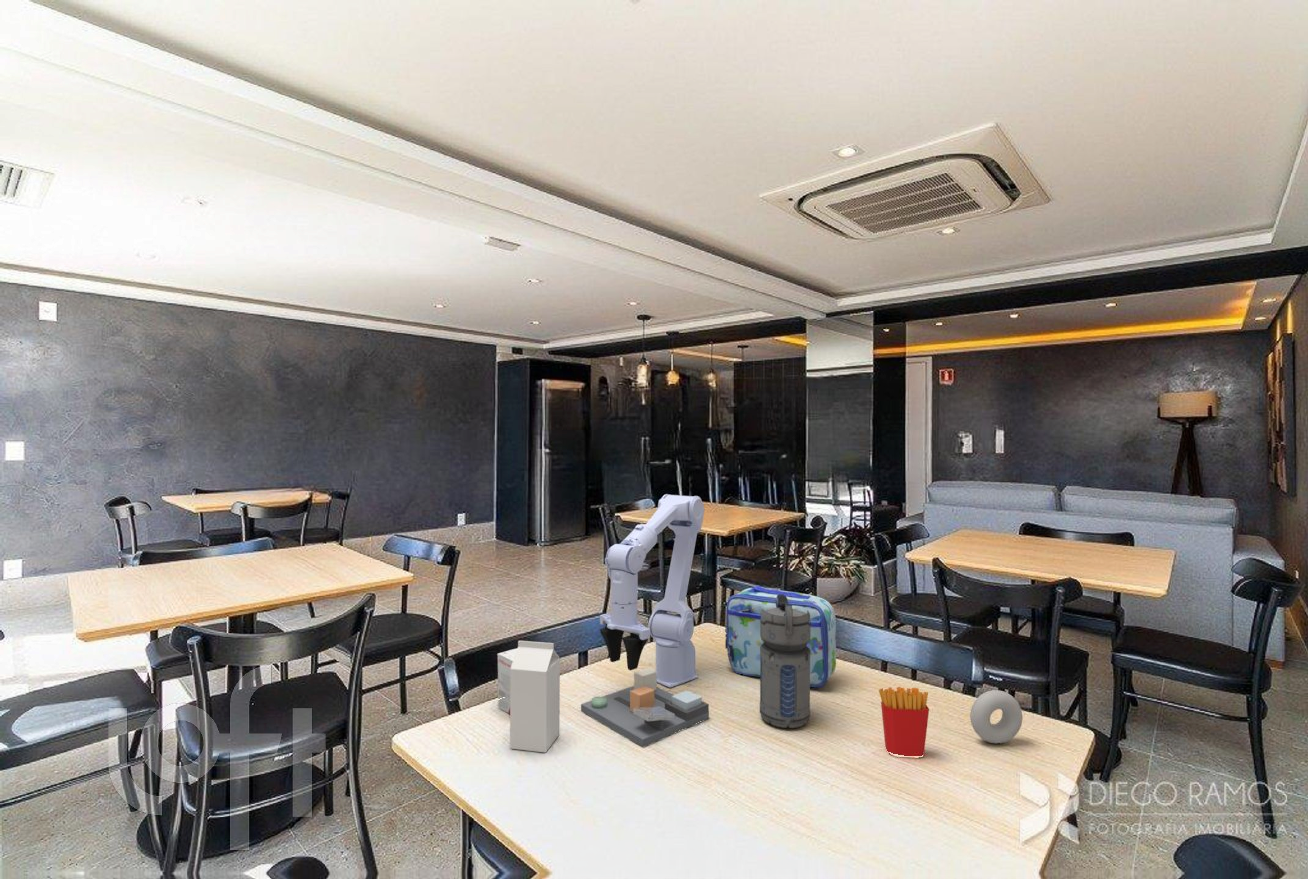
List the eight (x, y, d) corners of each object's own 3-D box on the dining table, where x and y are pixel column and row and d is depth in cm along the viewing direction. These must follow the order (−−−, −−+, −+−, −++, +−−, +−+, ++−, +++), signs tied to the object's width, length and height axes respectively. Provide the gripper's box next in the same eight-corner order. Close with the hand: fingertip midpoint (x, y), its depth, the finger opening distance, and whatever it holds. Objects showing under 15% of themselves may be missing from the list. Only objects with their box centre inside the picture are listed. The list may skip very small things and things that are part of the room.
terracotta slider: (644, 704, 128) (644, 685, 128) (654, 709, 126) (654, 690, 126) (630, 710, 125) (630, 690, 125) (639, 715, 123) (639, 695, 123)
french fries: (923, 748, 114) (924, 684, 114) (930, 759, 110) (931, 693, 110) (876, 745, 115) (877, 682, 115) (881, 756, 111) (882, 690, 111)
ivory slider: (647, 685, 138) (647, 667, 138) (656, 689, 135) (656, 671, 135) (634, 690, 135) (634, 672, 135) (642, 694, 133) (643, 676, 133)
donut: (977, 748, 114) (977, 695, 114) (965, 739, 117) (966, 687, 117) (1026, 746, 115) (1027, 693, 115) (1014, 737, 119) (1014, 685, 118)
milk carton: (546, 753, 111) (546, 649, 111) (509, 749, 113) (510, 647, 113) (559, 735, 118) (560, 637, 118) (525, 731, 120) (525, 634, 120)
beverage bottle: (803, 704, 132) (804, 589, 132) (814, 734, 119) (815, 606, 119) (756, 702, 133) (756, 588, 133) (762, 732, 120) (763, 605, 120)
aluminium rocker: (658, 711, 123) (659, 706, 123) (673, 719, 119) (674, 713, 120) (632, 713, 118) (633, 707, 118) (647, 721, 115) (648, 715, 115)
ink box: (539, 714, 127) (539, 657, 127) (518, 721, 124) (518, 663, 124) (517, 700, 134) (517, 647, 134) (496, 707, 130) (496, 652, 130)
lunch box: (720, 672, 150) (720, 587, 150) (738, 659, 159) (738, 579, 159) (825, 697, 136) (826, 603, 136) (838, 680, 146) (839, 593, 146)
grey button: (686, 697, 129) (686, 690, 129) (701, 704, 125) (701, 697, 125) (671, 703, 126) (671, 696, 126) (686, 711, 122) (686, 703, 122)
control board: (645, 688, 141) (645, 674, 141) (709, 718, 126) (709, 703, 126) (581, 711, 129) (581, 696, 129) (643, 747, 114) (643, 730, 114)
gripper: (588, 597, 133) (588, 659, 133) (631, 611, 122) (631, 679, 122) (614, 592, 137) (614, 652, 137) (657, 605, 126) (657, 670, 126)
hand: (623, 664), depth 130 cm, fingers open, 5 cm apart
